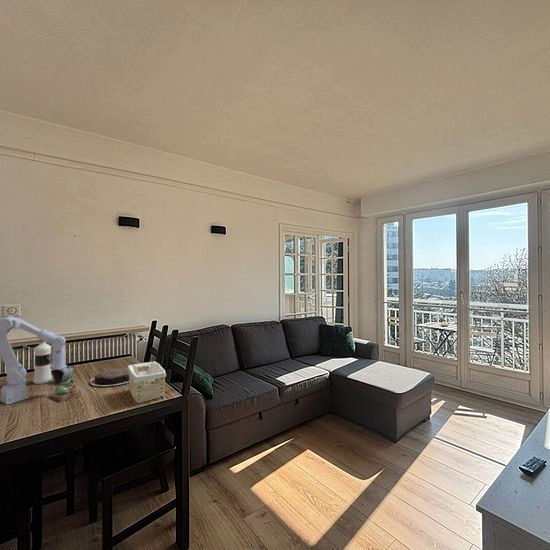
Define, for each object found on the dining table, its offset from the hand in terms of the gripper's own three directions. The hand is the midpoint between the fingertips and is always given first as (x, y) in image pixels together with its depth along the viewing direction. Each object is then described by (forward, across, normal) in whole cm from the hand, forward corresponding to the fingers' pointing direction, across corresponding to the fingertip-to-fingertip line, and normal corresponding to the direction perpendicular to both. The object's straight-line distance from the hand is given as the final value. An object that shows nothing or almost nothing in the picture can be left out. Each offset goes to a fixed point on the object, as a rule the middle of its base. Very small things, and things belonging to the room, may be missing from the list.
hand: (58, 383), depth 169 cm
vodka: (+6, +29, -5) cm, 30 cm away
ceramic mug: (+6, +17, -12) cm, 22 cm away
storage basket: (+6, -42, -24) cm, 49 cm away
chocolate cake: (+7, -5, -30) cm, 31 cm away
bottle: (+4, -1, 0) cm, 4 cm away
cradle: (+6, -6, 0) cm, 9 cm away
